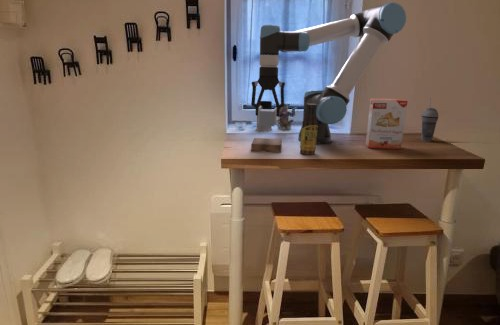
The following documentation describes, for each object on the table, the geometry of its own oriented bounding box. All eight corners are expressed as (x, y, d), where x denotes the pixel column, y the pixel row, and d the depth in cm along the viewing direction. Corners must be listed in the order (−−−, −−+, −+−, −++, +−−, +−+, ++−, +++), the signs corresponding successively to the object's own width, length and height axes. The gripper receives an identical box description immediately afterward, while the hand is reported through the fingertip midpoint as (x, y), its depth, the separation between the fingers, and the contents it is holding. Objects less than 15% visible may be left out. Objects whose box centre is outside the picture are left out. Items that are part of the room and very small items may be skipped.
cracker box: (368, 148, 158) (373, 99, 152) (365, 145, 164) (369, 97, 158) (401, 149, 157) (408, 100, 151) (397, 146, 163) (403, 98, 157)
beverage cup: (430, 143, 170) (437, 99, 164) (415, 140, 175) (421, 97, 170) (437, 141, 174) (444, 98, 169) (422, 138, 180) (428, 97, 174)
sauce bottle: (303, 155, 145) (306, 105, 139) (297, 152, 150) (299, 103, 145) (318, 154, 146) (322, 104, 141) (311, 151, 152) (314, 102, 147)
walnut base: (281, 145, 161) (281, 139, 160) (280, 152, 150) (280, 145, 149) (254, 144, 162) (254, 138, 162) (251, 151, 151) (251, 144, 150)
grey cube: (274, 123, 156) (275, 109, 154) (273, 126, 150) (274, 111, 148) (260, 123, 157) (261, 109, 155) (259, 125, 151) (259, 111, 149)
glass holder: (274, 129, 199) (274, 101, 195) (267, 133, 186) (267, 104, 182) (258, 128, 202) (258, 100, 197) (250, 132, 189) (251, 103, 184)
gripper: (292, 66, 149) (290, 123, 156) (246, 65, 151) (245, 121, 158) (292, 67, 142) (290, 126, 148) (244, 66, 144) (243, 124, 150)
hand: (267, 123), depth 153 cm, fingers closed on grey cube, 6 cm apart
